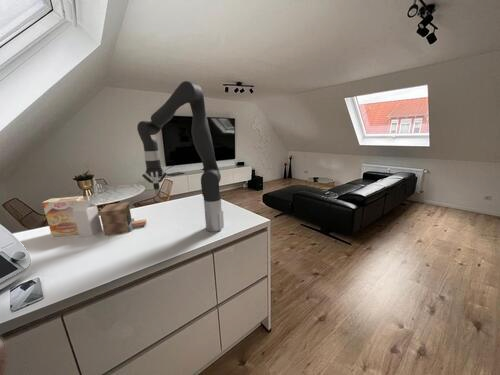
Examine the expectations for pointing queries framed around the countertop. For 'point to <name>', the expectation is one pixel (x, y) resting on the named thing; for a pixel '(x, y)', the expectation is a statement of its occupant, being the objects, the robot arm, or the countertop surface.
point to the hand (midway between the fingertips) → (156, 189)
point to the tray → (135, 223)
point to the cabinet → (115, 218)
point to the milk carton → (87, 219)
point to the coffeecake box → (61, 215)
